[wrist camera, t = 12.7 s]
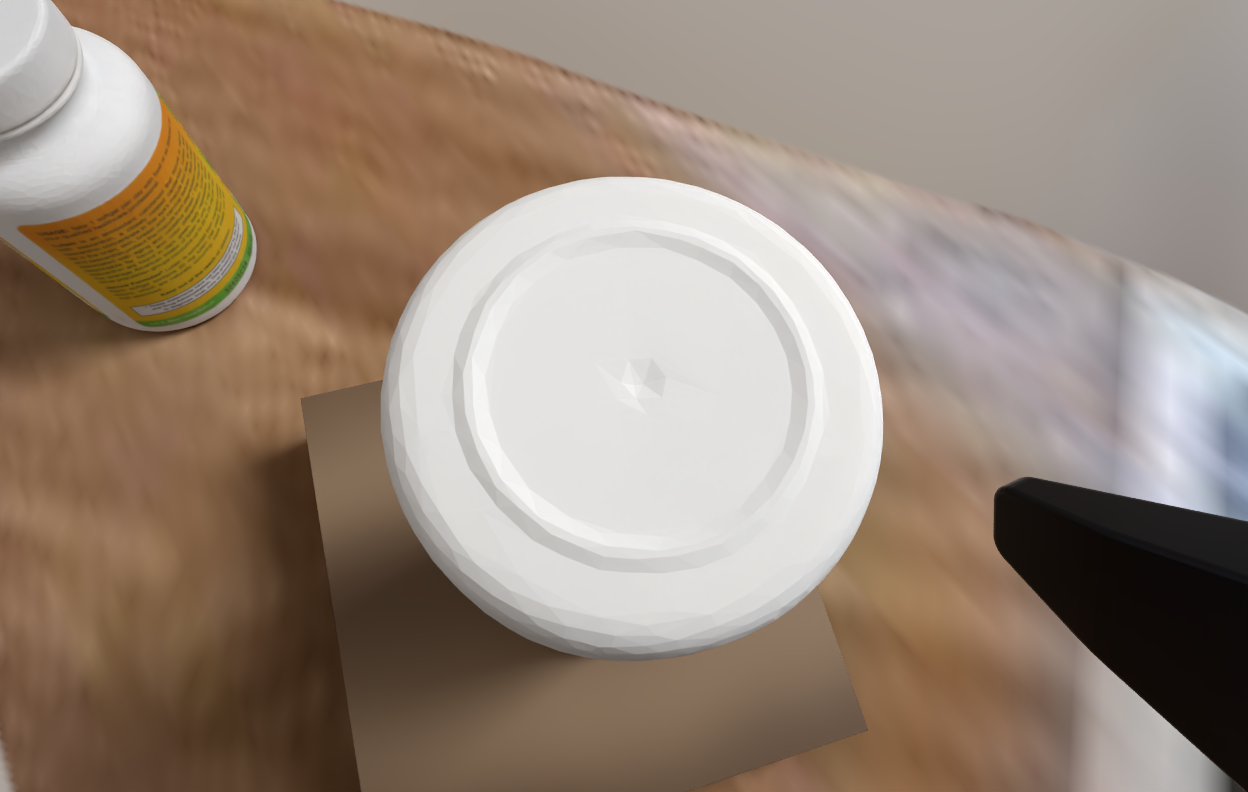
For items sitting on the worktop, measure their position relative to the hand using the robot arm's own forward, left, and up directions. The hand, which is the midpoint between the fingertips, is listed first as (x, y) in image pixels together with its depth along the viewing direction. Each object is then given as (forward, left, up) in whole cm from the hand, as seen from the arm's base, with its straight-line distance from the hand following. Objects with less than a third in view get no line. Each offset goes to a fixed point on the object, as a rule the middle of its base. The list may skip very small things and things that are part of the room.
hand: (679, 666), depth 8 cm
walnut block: (+3, 0, -13) cm, 14 cm away
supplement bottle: (+16, +10, -14) cm, 23 cm away
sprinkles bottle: (+3, 0, -11) cm, 11 cm away
